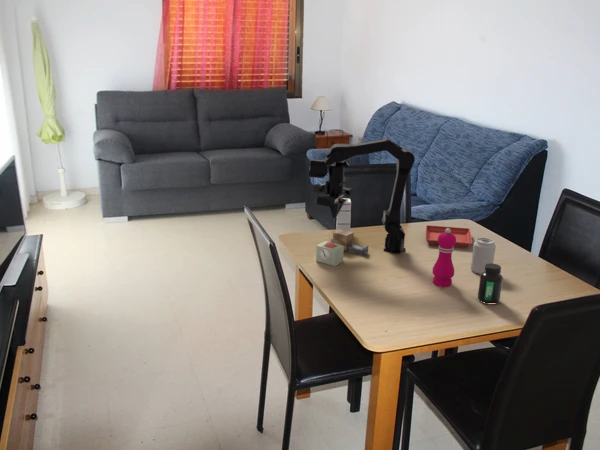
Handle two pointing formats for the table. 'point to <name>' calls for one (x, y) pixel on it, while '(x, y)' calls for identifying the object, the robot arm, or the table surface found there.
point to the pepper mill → (444, 260)
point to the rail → (357, 249)
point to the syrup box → (344, 216)
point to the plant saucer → (460, 233)
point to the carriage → (343, 238)
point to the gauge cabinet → (329, 254)
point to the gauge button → (330, 244)
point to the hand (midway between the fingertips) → (334, 217)
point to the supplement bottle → (490, 284)
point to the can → (482, 254)
